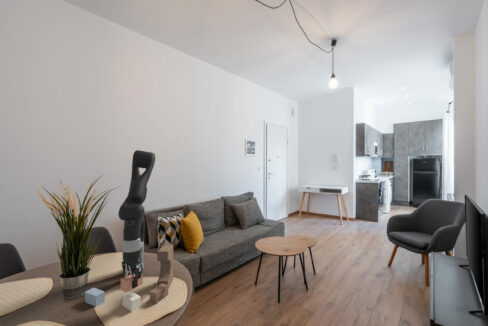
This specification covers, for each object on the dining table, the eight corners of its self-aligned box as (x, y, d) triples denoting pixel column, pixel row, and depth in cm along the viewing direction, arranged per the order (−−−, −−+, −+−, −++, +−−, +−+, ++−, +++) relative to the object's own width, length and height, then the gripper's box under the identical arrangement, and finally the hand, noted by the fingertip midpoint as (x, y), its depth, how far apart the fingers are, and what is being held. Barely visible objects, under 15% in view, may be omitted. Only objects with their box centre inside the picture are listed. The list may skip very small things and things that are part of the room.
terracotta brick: (137, 282, 108) (137, 271, 108) (142, 284, 106) (142, 273, 106) (120, 289, 102) (120, 278, 102) (125, 292, 99) (125, 281, 99)
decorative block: (167, 290, 117) (167, 251, 116) (156, 290, 116) (156, 251, 116) (173, 279, 128) (173, 243, 127) (163, 279, 127) (163, 243, 127)
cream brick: (122, 305, 104) (122, 294, 104) (130, 301, 108) (130, 290, 108) (132, 312, 100) (132, 300, 100) (140, 307, 103) (140, 296, 103)
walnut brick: (156, 304, 106) (156, 293, 106) (149, 302, 107) (149, 291, 107) (168, 295, 113) (168, 284, 113) (161, 293, 115) (161, 283, 115)
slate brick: (85, 302, 107) (85, 291, 107) (93, 297, 110) (93, 287, 110) (96, 307, 103) (96, 296, 103) (104, 302, 107) (104, 291, 107)
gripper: (148, 249, 103) (148, 287, 103) (131, 242, 111) (131, 278, 111) (132, 254, 97) (132, 295, 97) (115, 247, 105) (115, 285, 105)
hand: (131, 285), depth 104 cm, fingers closed on terracotta brick, 4 cm apart
